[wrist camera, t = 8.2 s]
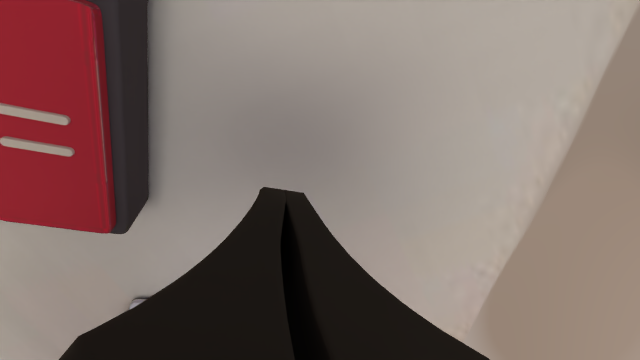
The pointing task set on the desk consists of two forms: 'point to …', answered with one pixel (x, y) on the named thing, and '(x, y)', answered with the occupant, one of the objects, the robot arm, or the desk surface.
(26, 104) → the calculator
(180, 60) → the desk surface
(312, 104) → the desk surface
